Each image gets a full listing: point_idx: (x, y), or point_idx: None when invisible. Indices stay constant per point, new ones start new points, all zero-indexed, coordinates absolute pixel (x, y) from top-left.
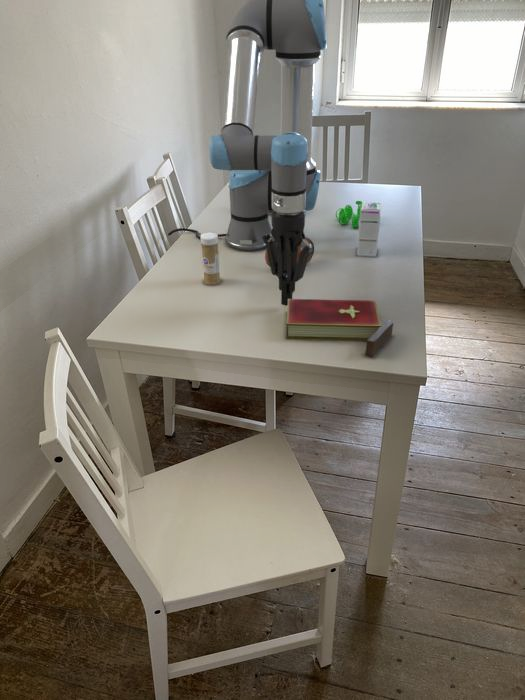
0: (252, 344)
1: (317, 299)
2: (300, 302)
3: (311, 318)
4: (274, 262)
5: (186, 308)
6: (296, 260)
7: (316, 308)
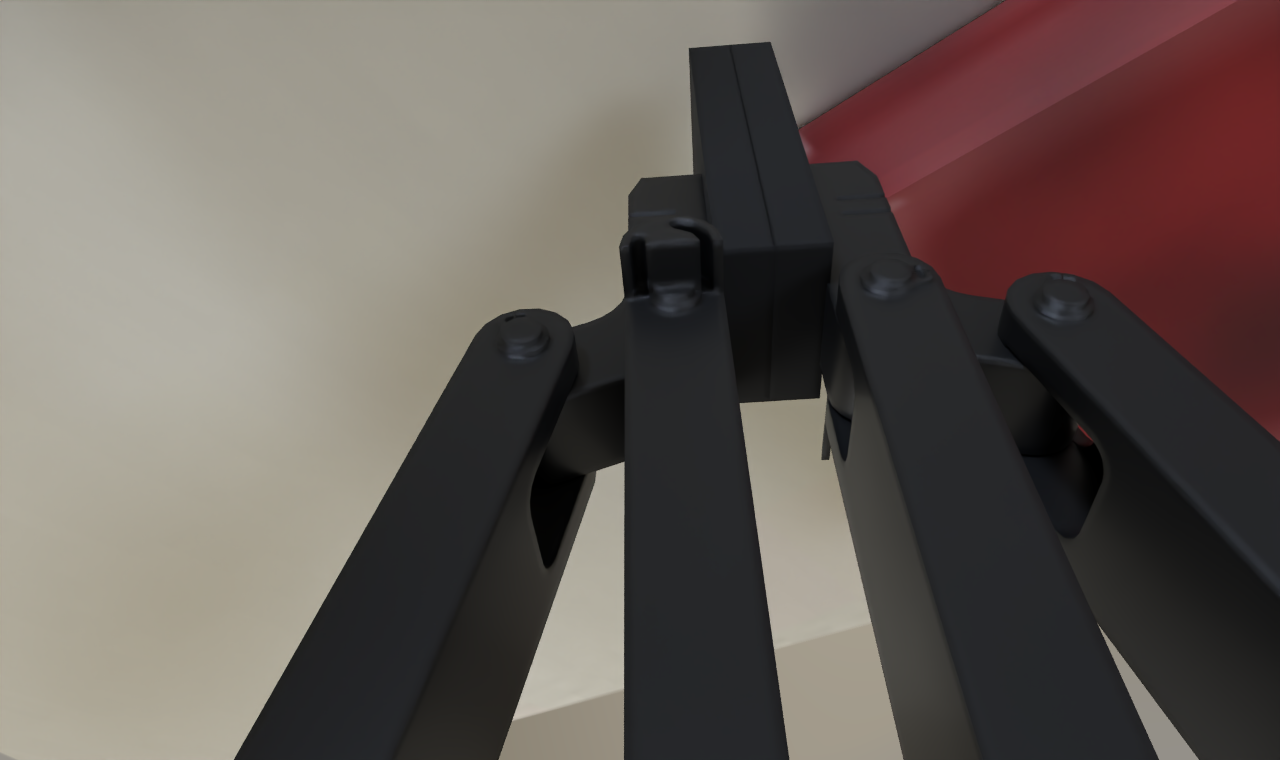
0: (794, 570)
1: (1228, 3)
2: (1003, 217)
3: (1238, 395)
4: (529, 631)
5: (80, 536)
6: (1074, 601)
7: (1260, 217)
